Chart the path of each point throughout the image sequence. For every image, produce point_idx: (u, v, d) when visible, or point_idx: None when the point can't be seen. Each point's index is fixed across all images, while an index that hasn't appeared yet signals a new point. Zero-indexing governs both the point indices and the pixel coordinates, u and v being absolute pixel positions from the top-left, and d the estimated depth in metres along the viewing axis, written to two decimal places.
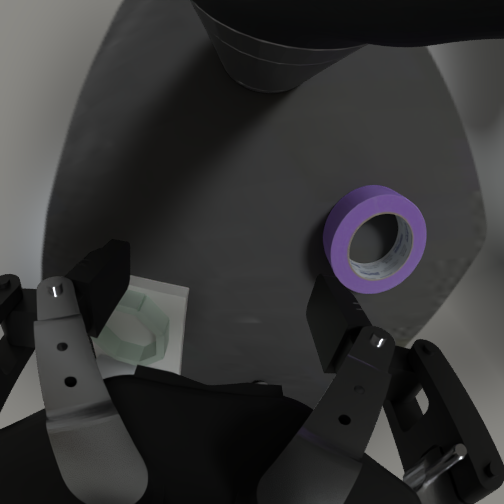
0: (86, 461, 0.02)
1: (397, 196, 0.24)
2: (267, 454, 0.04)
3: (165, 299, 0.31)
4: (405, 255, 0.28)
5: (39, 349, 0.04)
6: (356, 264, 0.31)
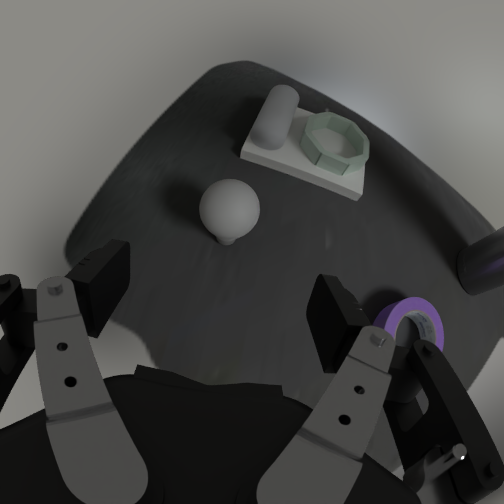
0: (86, 461, 0.02)
1: (443, 341, 0.31)
2: (267, 454, 0.04)
3: (358, 180, 0.39)
4: None
5: (39, 349, 0.04)
6: None
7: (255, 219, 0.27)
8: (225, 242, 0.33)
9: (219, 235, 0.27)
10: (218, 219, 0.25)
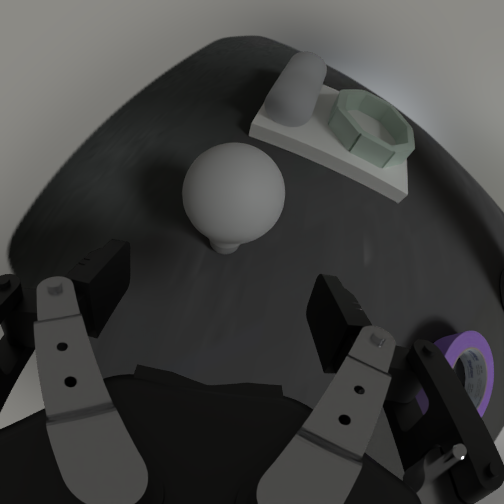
0: (86, 461, 0.02)
1: (492, 383, 0.19)
2: (267, 454, 0.04)
3: (401, 176, 0.28)
4: None
5: (39, 349, 0.04)
6: None
7: (278, 212, 0.15)
8: (223, 249, 0.21)
9: (214, 237, 0.15)
10: (213, 207, 0.14)
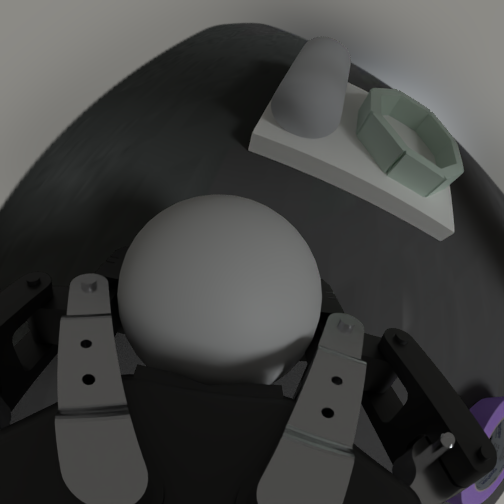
0: (88, 459, 0.02)
1: None
2: (268, 454, 0.04)
3: (446, 206, 0.20)
4: (478, 488, 0.10)
5: (62, 343, 0.04)
6: None
7: (308, 345, 0.07)
8: None
9: None
10: (171, 367, 0.06)
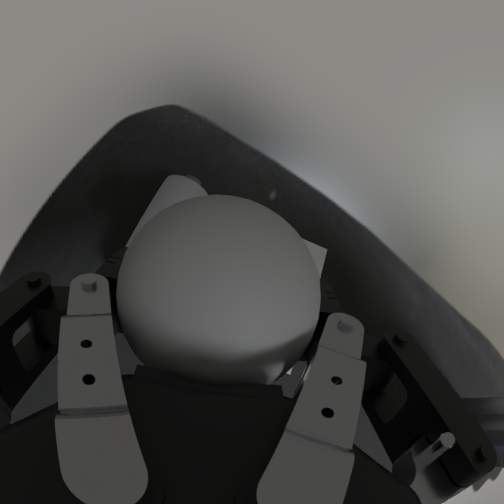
0: (88, 459, 0.02)
1: None
2: (268, 454, 0.04)
3: None
4: None
5: (62, 343, 0.04)
6: None
7: (306, 346, 0.07)
8: None
9: None
10: (170, 368, 0.06)
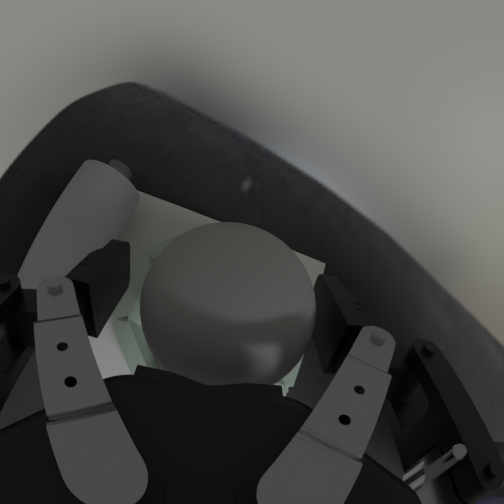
0: (87, 461, 0.02)
1: None
2: (268, 454, 0.04)
3: None
4: None
5: (39, 349, 0.04)
6: None
7: (304, 351, 0.09)
8: None
9: None
10: (191, 372, 0.07)
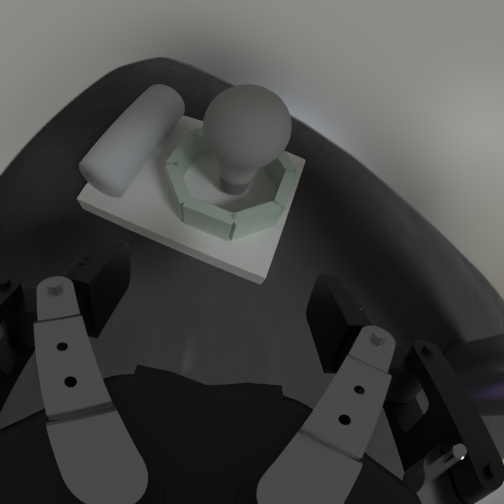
0: (86, 461, 0.02)
1: None
2: (268, 454, 0.04)
3: (264, 248, 0.23)
4: None
5: (39, 349, 0.04)
6: None
7: (286, 138, 0.17)
8: (233, 188, 0.23)
9: (231, 156, 0.17)
10: (233, 125, 0.15)
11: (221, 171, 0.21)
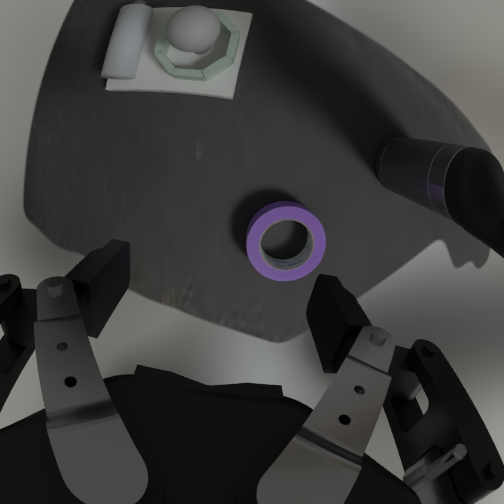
0: (87, 461, 0.02)
1: (324, 248, 0.40)
2: (267, 454, 0.04)
3: (228, 80, 0.31)
4: (278, 267, 0.42)
5: (39, 349, 0.04)
6: None
7: (216, 32, 0.22)
8: (200, 52, 0.28)
9: (187, 51, 0.23)
10: (181, 40, 0.21)
11: None
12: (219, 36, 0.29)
